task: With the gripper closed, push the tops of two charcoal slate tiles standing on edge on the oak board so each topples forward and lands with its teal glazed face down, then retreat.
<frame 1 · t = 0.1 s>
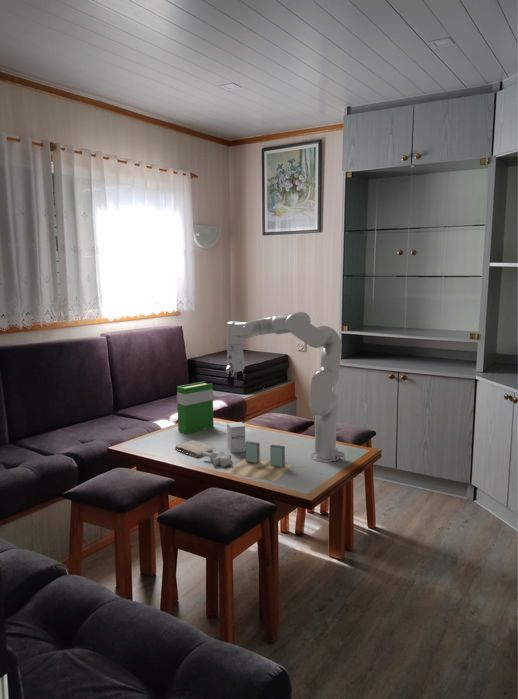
hand: (235, 382, 262), 31 cm above the table, tool pointing down, fingers open, 9 cm apart
tile far: (252, 461, 244), resting on oak board
tile near: (277, 465, 239), resting on oak board
grey tracked toy vehicle: (195, 451, 261), on the table
oak board: (259, 469, 236), on the table
hardback book: (196, 429, 295), on the table
bunny figurine: (218, 463, 244), on the table
supplement box: (236, 450, 261), on the table
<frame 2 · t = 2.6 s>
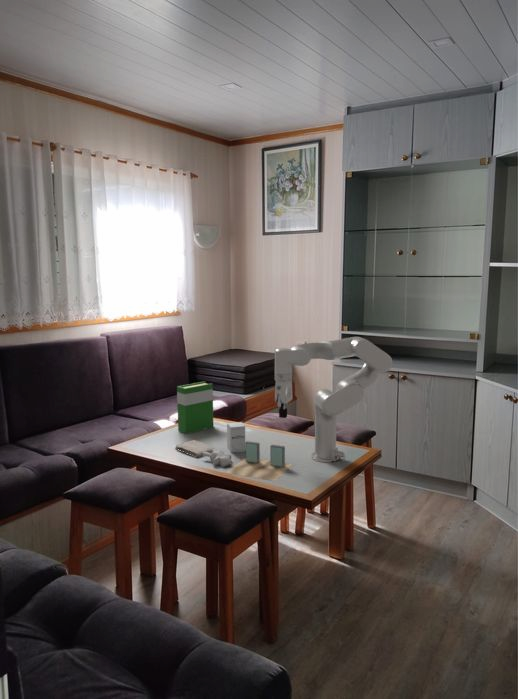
hand: (283, 417, 242), 20 cm above the table, tool pointing down, fingers closed
nothing on the table moved.
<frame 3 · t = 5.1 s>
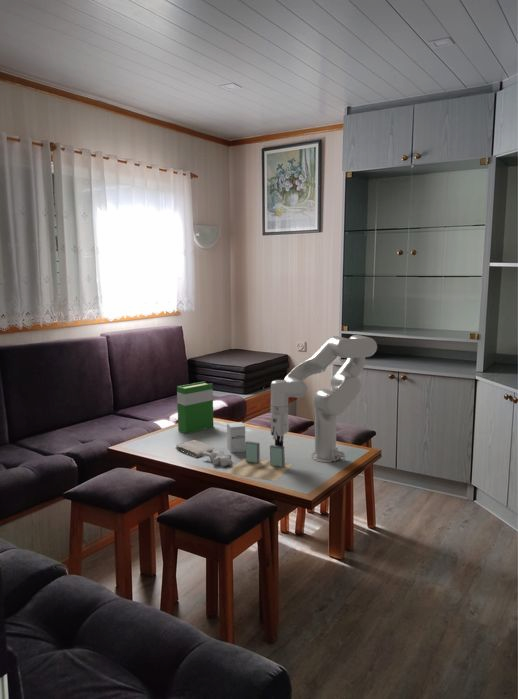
hand: (279, 449, 240), 7 cm above the table, tool pointing down, fingers closed
nothing on the table moved.
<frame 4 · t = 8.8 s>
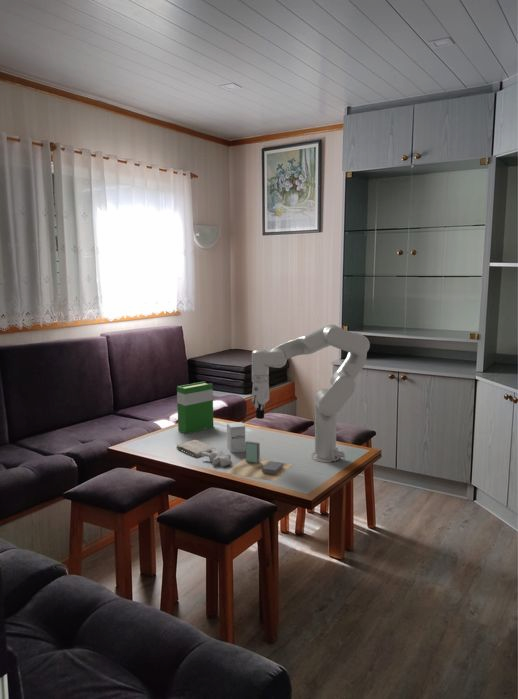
hand: (260, 418, 245), 19 cm above the table, tool pointing down, fingers closed
tile near: (276, 463, 238), point 1 cm above the table, tilted 90°, touching oak board
everything else where it was.
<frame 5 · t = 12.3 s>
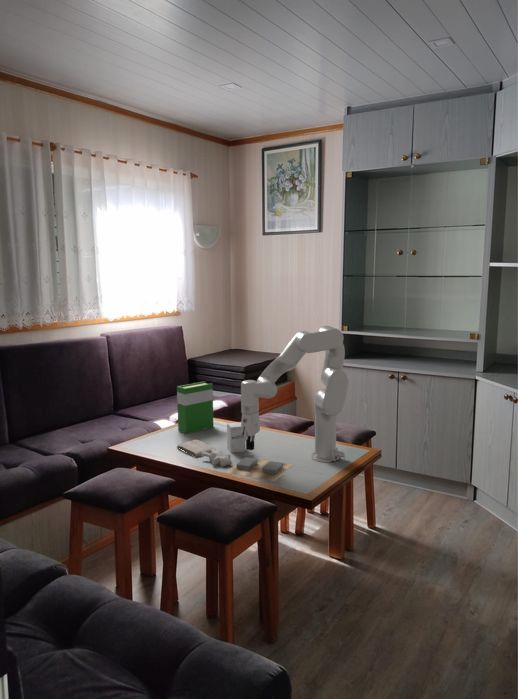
hand: (250, 449, 241), 7 cm above the table, tool pointing down, fingers closed
tile far: (251, 460, 243), point 1 cm above the table, tilted 90°, touching oak board
everything else where it was.
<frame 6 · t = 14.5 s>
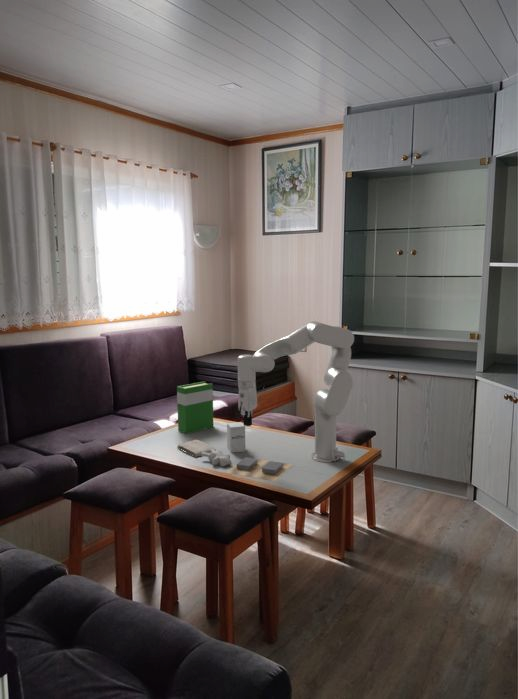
hand: (247, 425, 237), 19 cm above the table, tool pointing down, fingers closed
nothing on the table moved.
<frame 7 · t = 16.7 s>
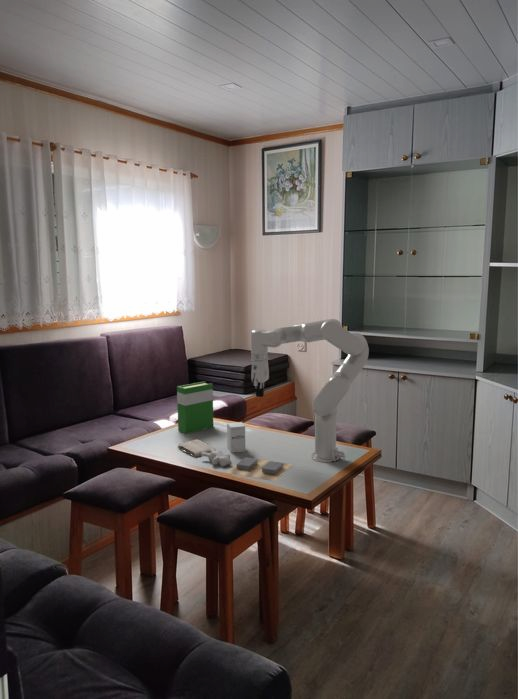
hand: (259, 396, 252), 27 cm above the table, tool pointing down, fingers closed
at the end: tile near tilted 90°; tile far tilted 90°; tile far inside the target area (7.7 cm from its centre), point 1.5 cm above the table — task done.
